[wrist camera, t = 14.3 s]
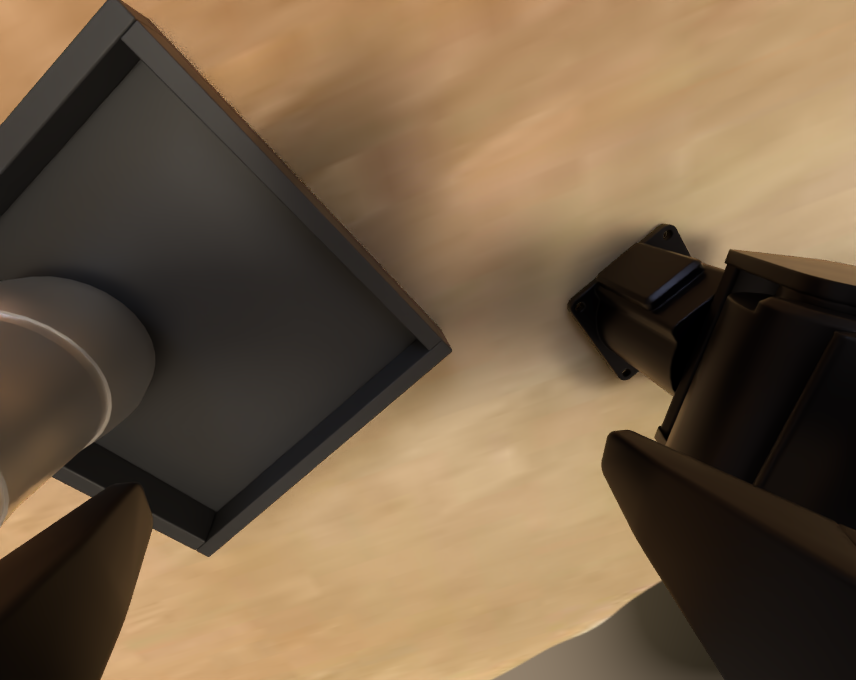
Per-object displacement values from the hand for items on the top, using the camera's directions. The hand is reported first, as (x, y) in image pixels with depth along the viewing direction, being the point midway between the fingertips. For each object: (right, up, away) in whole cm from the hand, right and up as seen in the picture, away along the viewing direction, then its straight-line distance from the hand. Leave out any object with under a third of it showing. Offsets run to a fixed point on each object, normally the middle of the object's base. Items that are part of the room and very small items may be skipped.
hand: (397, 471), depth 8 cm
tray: (-10, +3, +11) cm, 15 cm away
